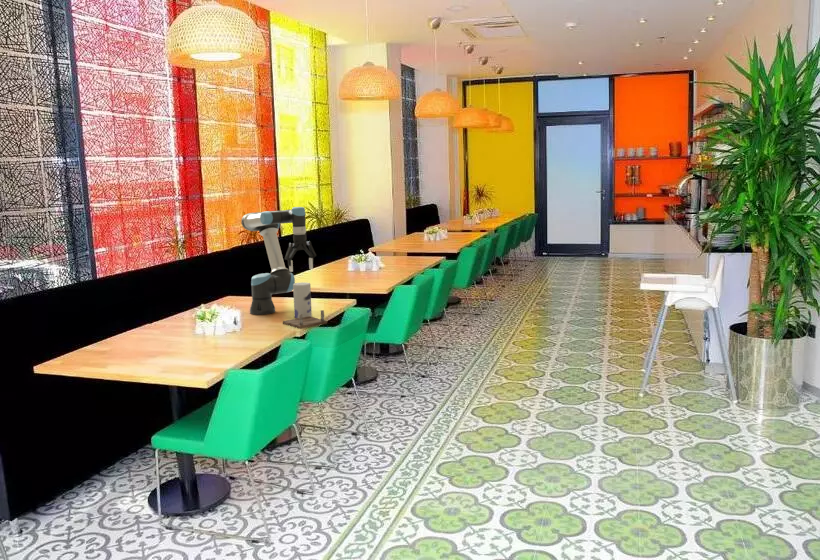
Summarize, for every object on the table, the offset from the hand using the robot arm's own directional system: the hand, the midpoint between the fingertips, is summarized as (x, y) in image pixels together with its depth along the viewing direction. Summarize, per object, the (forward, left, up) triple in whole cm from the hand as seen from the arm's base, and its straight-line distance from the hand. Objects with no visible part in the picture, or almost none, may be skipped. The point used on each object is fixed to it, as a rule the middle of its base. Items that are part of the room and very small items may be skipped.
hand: (301, 270), depth 426 cm
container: (0, 0, -28) cm, 28 cm away
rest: (+16, -9, -28) cm, 33 cm away
